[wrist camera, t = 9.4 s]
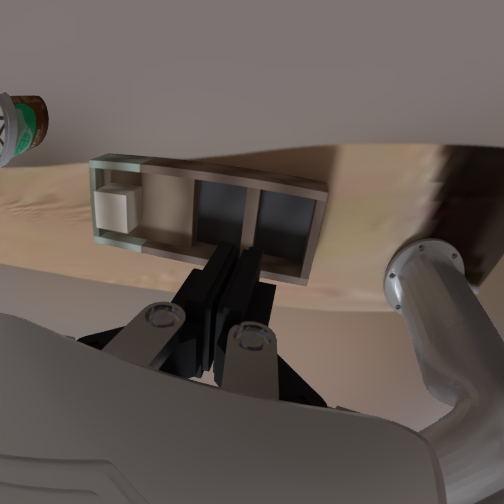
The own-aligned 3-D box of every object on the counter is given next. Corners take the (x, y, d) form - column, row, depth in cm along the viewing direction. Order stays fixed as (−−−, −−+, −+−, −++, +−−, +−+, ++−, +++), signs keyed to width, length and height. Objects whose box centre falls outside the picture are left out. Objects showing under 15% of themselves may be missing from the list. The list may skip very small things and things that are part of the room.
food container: (41, 167, 42) (-1, 185, 34) (22, 151, 42) (-20, 166, 33) (62, 101, 37) (15, 108, 28) (41, 87, 36) (-5, 93, 27)
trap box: (326, 182, 37) (328, 192, 33) (307, 268, 42) (306, 286, 38) (107, 153, 40) (89, 160, 36) (110, 229, 45) (94, 242, 41)
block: (141, 186, 38) (126, 195, 35) (142, 221, 41) (127, 233, 37) (110, 182, 39) (93, 191, 35) (112, 216, 41) (96, 227, 38)
